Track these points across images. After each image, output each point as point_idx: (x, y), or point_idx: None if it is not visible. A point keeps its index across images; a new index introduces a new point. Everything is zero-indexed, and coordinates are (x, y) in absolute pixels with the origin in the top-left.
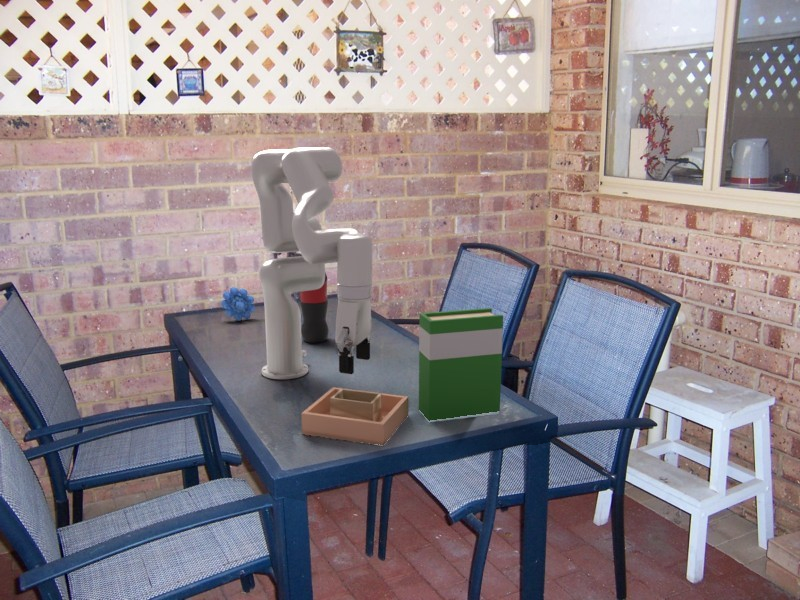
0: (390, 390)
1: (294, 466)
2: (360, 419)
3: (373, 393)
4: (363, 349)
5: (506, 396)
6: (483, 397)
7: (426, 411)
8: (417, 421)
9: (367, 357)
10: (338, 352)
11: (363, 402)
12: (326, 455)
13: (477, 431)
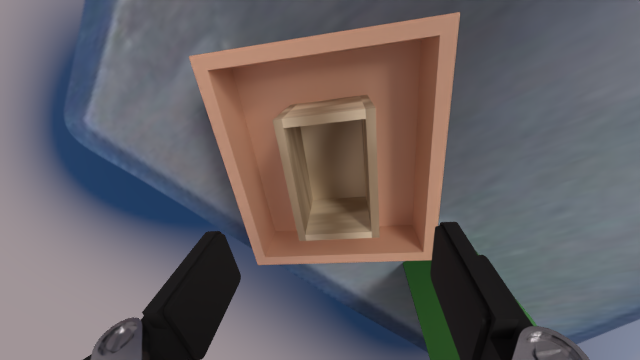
0: (610, 124)
1: (109, 134)
2: (253, 219)
3: (371, 218)
4: (453, 308)
5: (571, 334)
6: None
7: (419, 270)
8: None
9: (433, 283)
10: (93, 349)
11: (296, 220)
12: (182, 164)
13: (392, 323)
